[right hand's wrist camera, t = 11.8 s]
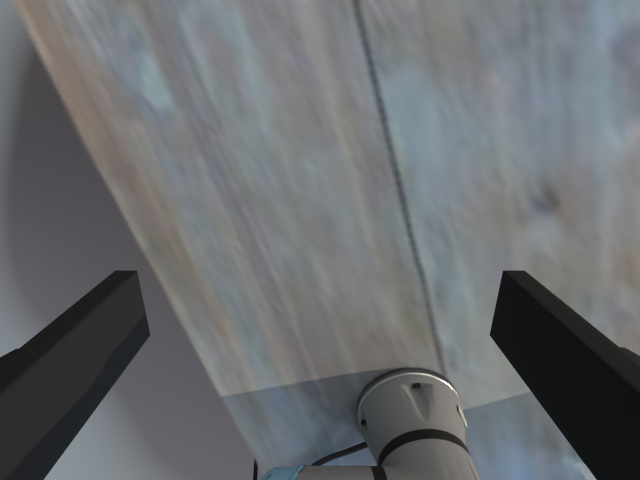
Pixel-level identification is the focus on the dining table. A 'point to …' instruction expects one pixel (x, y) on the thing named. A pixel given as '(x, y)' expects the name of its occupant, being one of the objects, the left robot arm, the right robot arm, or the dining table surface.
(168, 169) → the dining table surface
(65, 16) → the dining table surface
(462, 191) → the dining table surface
